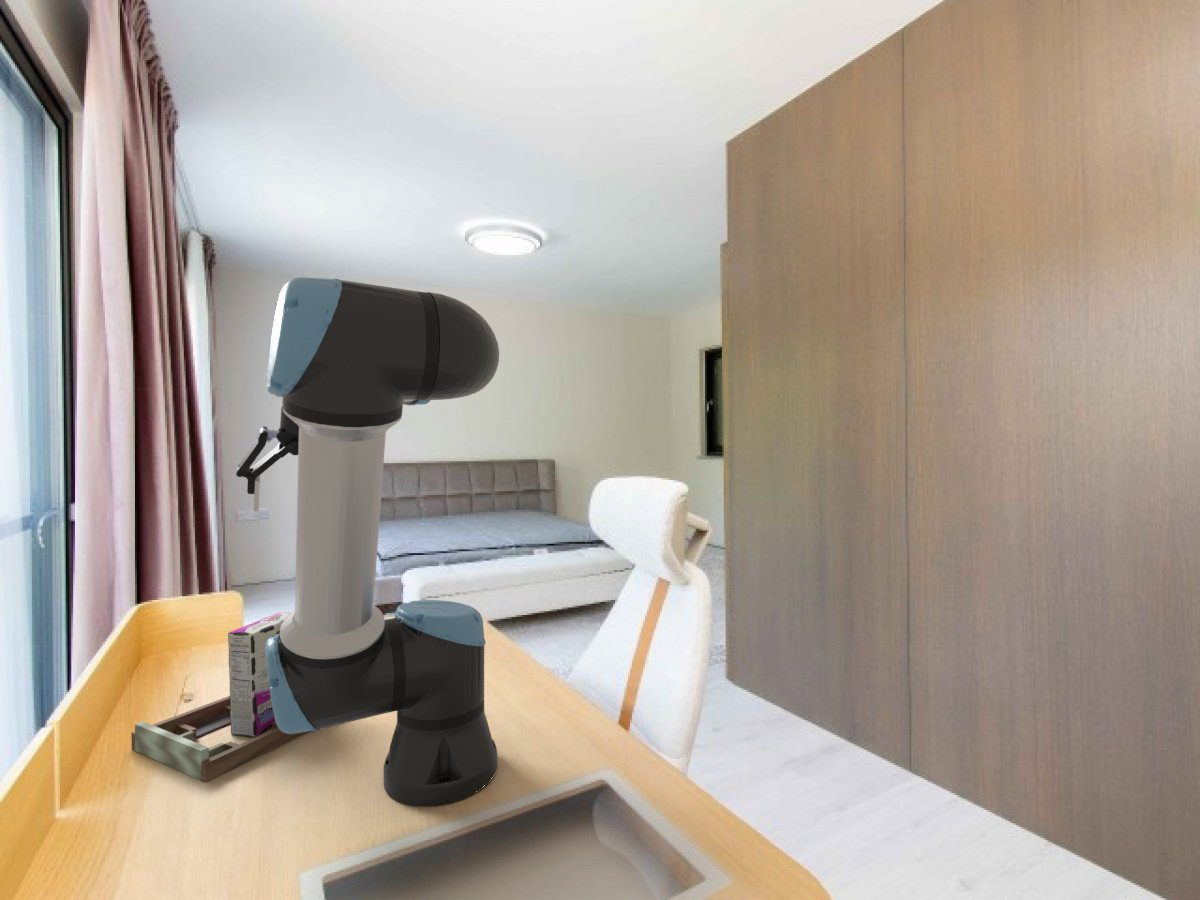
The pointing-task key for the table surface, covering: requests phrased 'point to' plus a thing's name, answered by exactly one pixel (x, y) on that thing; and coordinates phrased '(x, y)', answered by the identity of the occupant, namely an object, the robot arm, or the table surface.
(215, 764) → the grey-brown low tray piece
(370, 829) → the table surface
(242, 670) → the candy bar box
